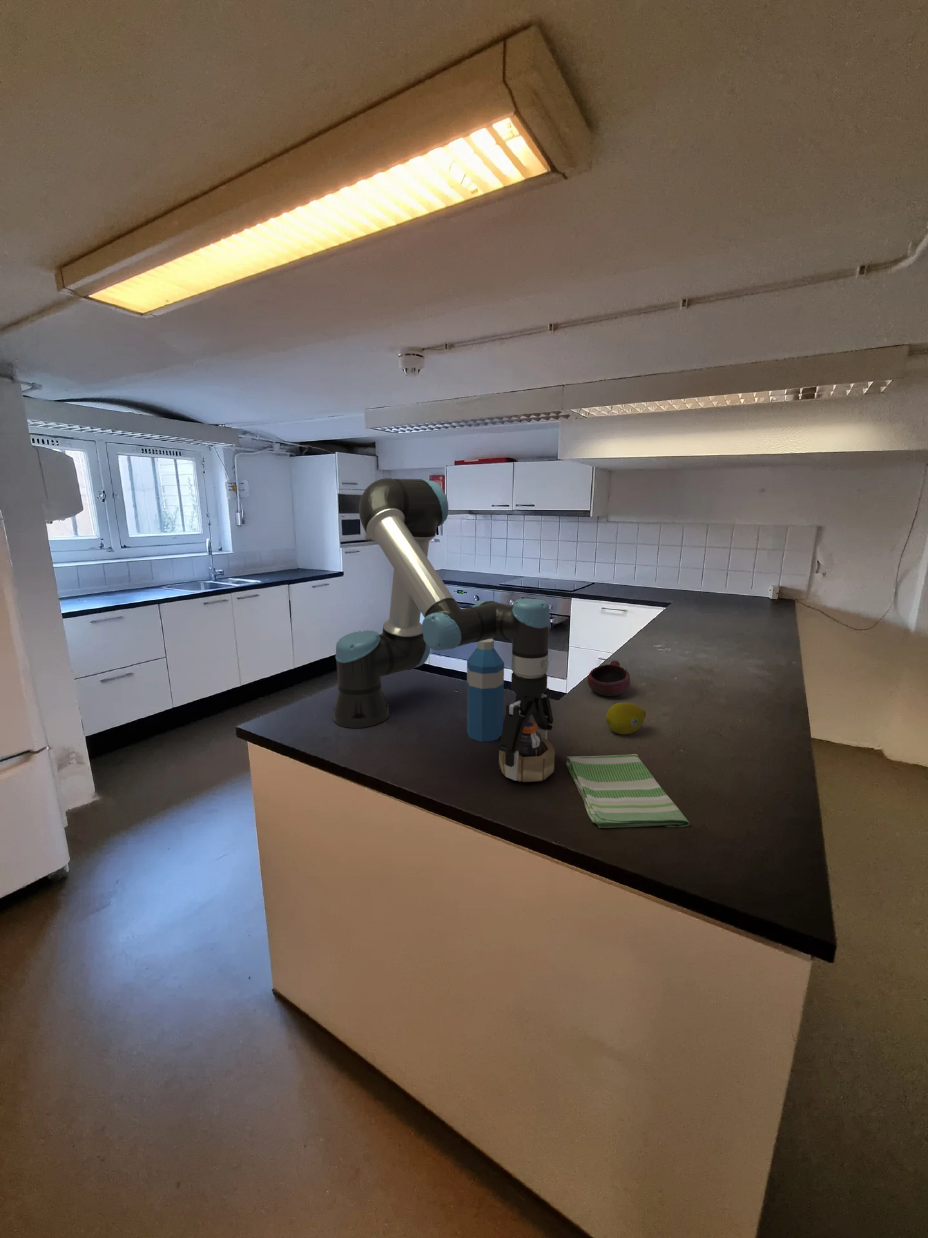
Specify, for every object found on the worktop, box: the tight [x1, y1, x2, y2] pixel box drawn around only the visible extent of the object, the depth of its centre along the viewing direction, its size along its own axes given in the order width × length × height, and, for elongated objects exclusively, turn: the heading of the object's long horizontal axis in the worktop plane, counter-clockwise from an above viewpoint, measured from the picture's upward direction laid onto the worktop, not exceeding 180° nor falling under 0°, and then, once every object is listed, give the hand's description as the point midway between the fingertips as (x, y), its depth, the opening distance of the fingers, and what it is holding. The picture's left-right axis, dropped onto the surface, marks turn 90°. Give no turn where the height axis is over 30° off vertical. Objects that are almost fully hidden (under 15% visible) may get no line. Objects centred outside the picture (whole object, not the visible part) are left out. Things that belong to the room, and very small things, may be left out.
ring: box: [498, 738, 556, 783], centre depth 107 cm, size 11×11×5 cm
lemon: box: [605, 701, 647, 735], centre depth 125 cm, size 11×8×8 cm
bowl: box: [586, 660, 631, 697], centre depth 152 cm, size 16×13×8 cm
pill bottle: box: [517, 720, 541, 757], centre depth 106 cm, size 6×6×11 cm
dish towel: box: [565, 753, 691, 829], centre depth 100 cm, size 18×23×3 cm
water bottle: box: [466, 638, 505, 743], centre depth 122 cm, size 9×9×25 cm
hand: (526, 766), depth 107 cm, fingers closed on ring, 11 cm apart
